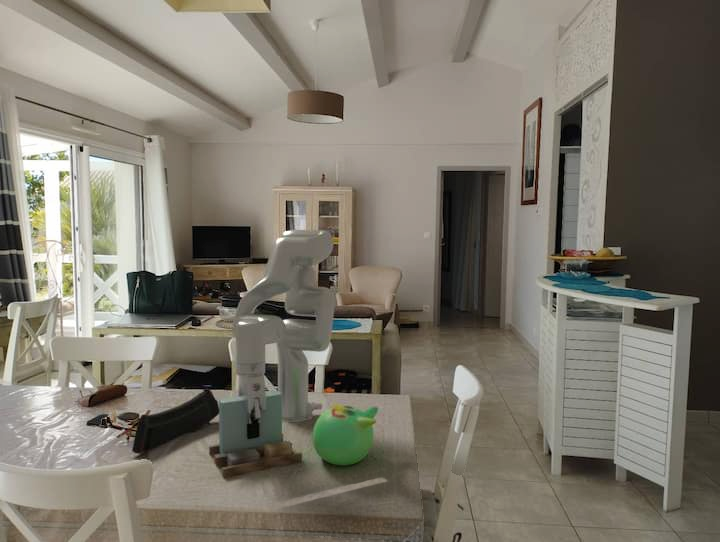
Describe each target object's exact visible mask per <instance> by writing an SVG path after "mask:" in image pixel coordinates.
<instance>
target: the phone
mask: <svg viewBox="0 0 720 542" xmlns="http://www.w3.org/2000/svg"><path fill="white" fill-rule="evenodd" d="M108 415H109V414H106V413H103V414H102V413H101V414H98V415H97V416H95V417H93V418H91V419H89V420H87V421H86V426H90V425H96V426H95V427H100V426H99V425H100V424H101V419H102V418H105V417H107V416H108Z"/></svg>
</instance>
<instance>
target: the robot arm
mask: <svg viewBox="0 0 720 542" xmlns="http://www.w3.org/2000/svg"><path fill="white" fill-rule="evenodd" d="M334 244H335V243H334V238H333V235H332V234H331V232H330V231H328V230H325V229H324V230H323V229H315V230H314V229H290V230H289V229H288V230H286V231H284V232H282V234H281V235H280V237H279V238H277V239H276V240H274V243H273V245H272V248H271V251H270V253H269V257H268V259H267V264H266V266H265V270H264V274H263V277H262V279H261V280H260V281H258V282H257V283H256V284H254V285H253V286H252V287H251V288H249V290H247V292H246V293H245V294H244V295H243V296H242V297H241V299H240V301H239V303H238V306H237V308H236V311H235V314H234V317H233V321H232V329H231V330H232V333H233V334H232V335H233V336H234V337H235V374H236V375H237V376H238V397H241V398H242V399H243V400H244V407H245V411H246V412H247V413H248V424H247V438H248V439H253V438H258V437H259V436H260V419H261V414H260V409H261V410H262V411H263V412H265V411H266V393H267V392H266V383H265V374H266V345H270V344H271V345H273V344H275V345H276V352H277V391H279V392H280V393H281V394H282V423H298V422H299V423H300V422H304V421H311V420H312V419H313V417H314V415H313V412H314V411H315V410H322V409H323V404H322V403H321V402H319V403H316V402H312V401H311V402H309V362H308V357H307V356H306V354H305V353H304V352H305V351H307V352H321V353H322V352H325V351H326V350H328V348H329V346H330V344H331V339H332V337H331V336H332V331H333V330H332V329H333V321H334V315H335V305H336V304H335V303H336V301H335V300H336V299H335V294H334V292H333V291H332V290H331V289H330V288H328V287H325V286H315V281H316V280H315V278H316V270H315V269H314V266H317V265H319V264H320V263H322V262H323V261H324V260H326V259H327V258H329V257H330V255H331V254H332V251H333V249H334ZM284 294H285V297H284V309H285V311H286V313H287V314H289V315H293V316H301V317H315V319H316V320H312V319H301V318H285V319H283V318H281V317H280V316H277V315H271V314H269V315H268V314H258V313H254V311H255V310H256V309H257V308H258V306H260V305H261V304H263V303H264V302H267V301H268V300H270V299H273V298H276V297H278V296H281V295H284ZM303 351H304V352H303ZM259 405H260V407H259ZM251 410H254V411H252V412H251ZM251 415H254V416H252V418H251Z"/></svg>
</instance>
